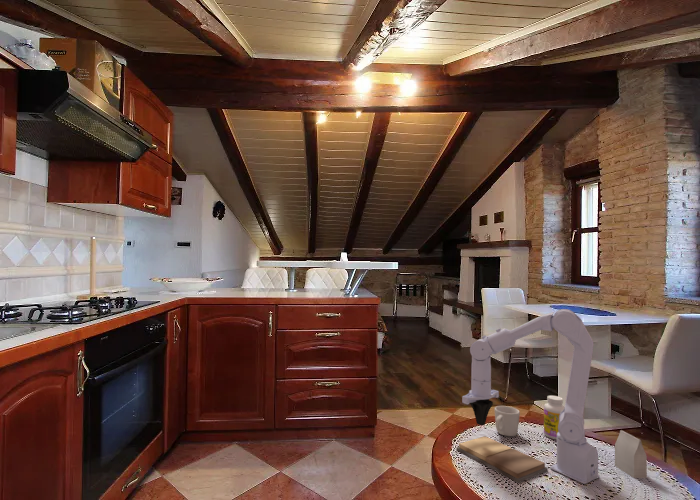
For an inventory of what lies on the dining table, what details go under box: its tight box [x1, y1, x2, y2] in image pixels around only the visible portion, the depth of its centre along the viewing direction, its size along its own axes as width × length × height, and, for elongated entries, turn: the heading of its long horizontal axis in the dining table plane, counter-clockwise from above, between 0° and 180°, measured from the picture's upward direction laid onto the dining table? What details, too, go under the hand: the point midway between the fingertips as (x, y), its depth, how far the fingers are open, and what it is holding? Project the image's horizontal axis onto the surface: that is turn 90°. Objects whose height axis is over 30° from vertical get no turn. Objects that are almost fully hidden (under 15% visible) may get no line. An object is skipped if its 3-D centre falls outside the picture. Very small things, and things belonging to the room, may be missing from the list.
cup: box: [493, 405, 521, 437], centre depth 132 cm, size 11×8×8 cm
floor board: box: [455, 446, 549, 484], centre depth 114 cm, size 21×13×2 cm, turn 32°
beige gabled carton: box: [614, 429, 648, 479], centre depth 109 cm, size 4×7×10 cm, turn 5°
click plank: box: [458, 435, 513, 461], centre depth 118 cm, size 10×12×1 cm
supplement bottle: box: [543, 395, 565, 441], centre depth 132 cm, size 7×7×13 cm
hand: (480, 424), depth 120 cm, fingers closed
